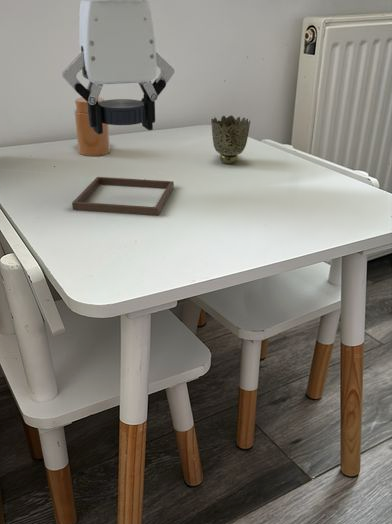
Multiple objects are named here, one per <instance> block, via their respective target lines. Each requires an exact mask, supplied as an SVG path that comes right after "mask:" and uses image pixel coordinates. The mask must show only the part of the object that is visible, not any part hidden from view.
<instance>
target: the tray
mask: <svg viewBox="0 0 392 524" xmlns="http://www.w3.org/2000/svg"><path fill="white" fill-rule="evenodd" d="M100 185H101V186H116V187H133V188H149V189H163V190H164V191H163V193H162V195H161V197H160V198H159V200H158V202H157V203H156V205H155V206H148V205H147V206H146V205H145V206H144V205H131V204H130V205H129V204H118V203H117V204H116V203H115V204H114V203H100V202H87V200H88V199H89V197H90V196H91V195H92V194H93V193H94V192H95V191H96V190H97V189H98V188H99V186H100ZM174 189H175V182H174V181H172V180H157V179H156V180H155V179H141V178H124V177H109V176H96V177H95V178H94V179H93V181H92V182H91V183H90V184H89V185H88V186H87V187H86V188H85V189H84V190H83V191H82V192H81V193H80V194H79V195H78V196H77V197H76V198H75V199H74V200H73V201H72V203H71V206H72V211H80V212H93V213H94V212H96V213H109V214H110V213H111V214H123V215H138V216H140V215H141V216H151V217H152V216H153V217H159V215H160V214H161V212H162V210H163V209H164V207H165V205H166V203H167V201H168V200H169V198H170V196H171V194H172V192H173V190H174Z"/></svg>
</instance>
